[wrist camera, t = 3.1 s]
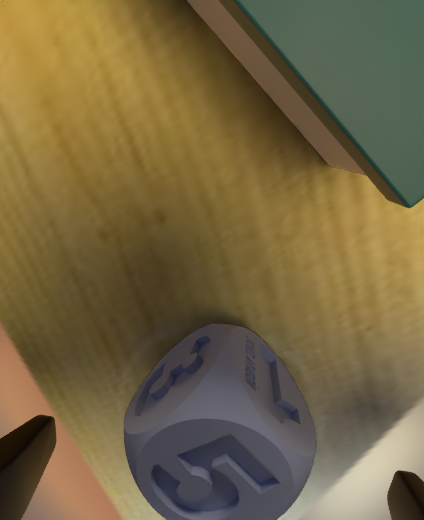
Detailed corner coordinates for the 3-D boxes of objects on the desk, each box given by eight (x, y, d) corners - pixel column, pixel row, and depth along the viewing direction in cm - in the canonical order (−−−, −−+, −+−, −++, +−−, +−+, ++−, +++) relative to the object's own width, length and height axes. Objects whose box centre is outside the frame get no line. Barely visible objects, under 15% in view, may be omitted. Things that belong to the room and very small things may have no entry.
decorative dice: (305, 384, 12) (333, 498, 8) (218, 437, 13) (206, 559, 9) (230, 302, 11) (221, 384, 7) (144, 366, 12) (99, 465, 8)
